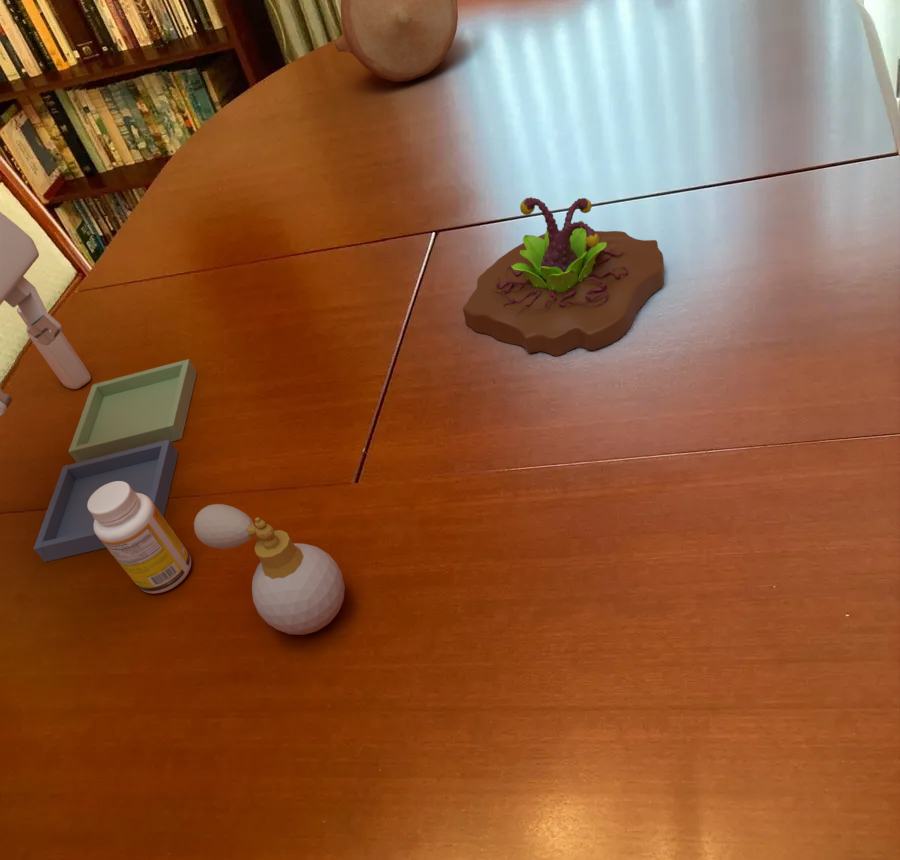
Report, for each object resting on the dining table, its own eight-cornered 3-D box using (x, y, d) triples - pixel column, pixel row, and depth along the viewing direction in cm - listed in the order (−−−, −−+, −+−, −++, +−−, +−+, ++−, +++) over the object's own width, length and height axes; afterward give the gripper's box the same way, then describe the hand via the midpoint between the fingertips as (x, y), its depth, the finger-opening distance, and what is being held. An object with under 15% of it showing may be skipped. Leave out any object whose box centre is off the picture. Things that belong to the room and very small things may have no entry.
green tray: (78, 465, 99) (67, 451, 97) (101, 397, 107) (92, 384, 105) (181, 439, 97) (172, 425, 95) (197, 372, 105) (189, 358, 103)
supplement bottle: (159, 549, 85) (102, 471, 78) (204, 555, 83) (150, 475, 76) (127, 592, 82) (65, 516, 75) (173, 600, 80) (114, 522, 73)
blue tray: (44, 562, 89) (32, 548, 87) (73, 479, 97) (62, 466, 95) (159, 535, 87) (149, 521, 85) (178, 453, 95) (169, 439, 94)
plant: (535, 239, 105) (517, 144, 97) (689, 256, 94) (684, 151, 86) (441, 338, 96) (412, 243, 88) (598, 368, 86) (583, 264, 78)
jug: (321, 40, 136) (302, 18, 158) (420, 117, 145) (388, 87, 168) (393, -93, 128) (361, -95, 150) (492, -1, 138) (448, -17, 160)
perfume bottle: (353, 642, 71) (298, 541, 63) (242, 662, 73) (173, 567, 64) (357, 574, 76) (306, 472, 67) (253, 594, 78) (190, 497, 69)
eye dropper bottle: (59, 397, 109) (-2, 313, 101) (62, 373, 113) (4, 291, 104) (91, 385, 109) (34, 300, 100) (93, 362, 113) (38, 278, 104)
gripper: (-85, 185, 70) (61, 315, 78) (-244, 336, 58) (-50, 473, 66) (-45, 140, 67) (103, 281, 75) (-204, 291, 54) (-6, 441, 62)
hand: (30, 372), depth 70 cm, fingers open, 8 cm apart
